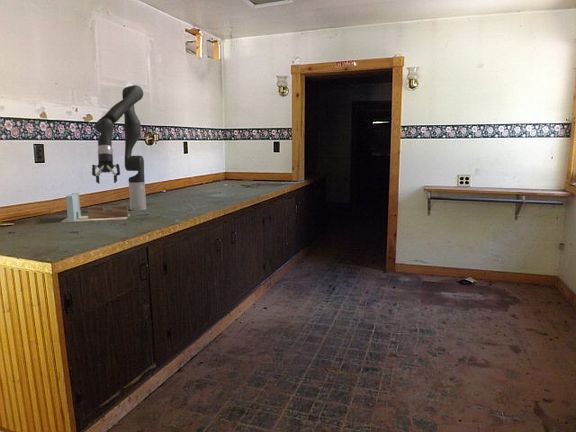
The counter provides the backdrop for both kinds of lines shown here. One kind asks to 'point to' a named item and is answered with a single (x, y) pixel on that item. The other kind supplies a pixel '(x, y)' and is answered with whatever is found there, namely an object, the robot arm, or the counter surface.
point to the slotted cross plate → (73, 206)
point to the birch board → (94, 219)
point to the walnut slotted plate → (100, 213)
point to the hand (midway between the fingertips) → (106, 183)
